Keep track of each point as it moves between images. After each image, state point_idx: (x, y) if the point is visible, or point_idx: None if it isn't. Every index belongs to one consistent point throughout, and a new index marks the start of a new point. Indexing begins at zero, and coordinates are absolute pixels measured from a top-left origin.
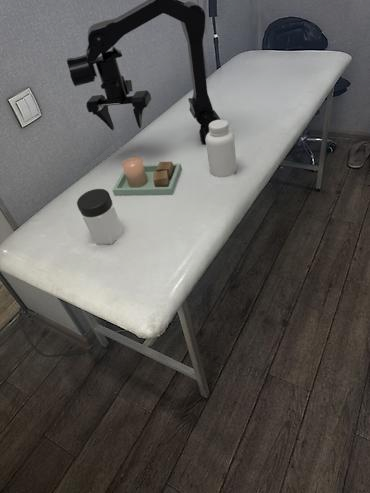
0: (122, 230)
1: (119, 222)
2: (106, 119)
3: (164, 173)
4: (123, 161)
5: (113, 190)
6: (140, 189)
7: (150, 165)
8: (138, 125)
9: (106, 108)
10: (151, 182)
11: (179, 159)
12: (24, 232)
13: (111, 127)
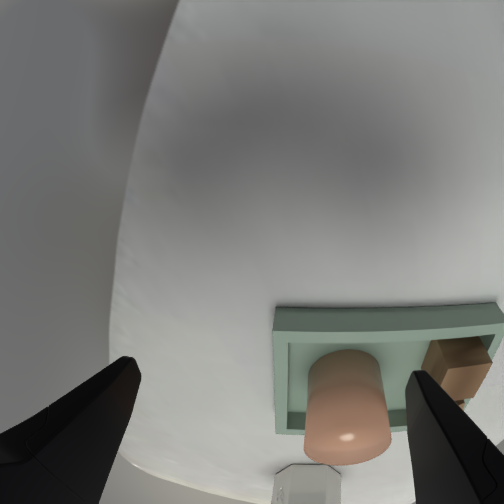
0: (340, 483)
1: (340, 500)
2: (101, 484)
3: None
4: (306, 443)
5: (278, 432)
6: None
7: (397, 337)
8: (411, 425)
9: (15, 495)
10: (394, 375)
11: (494, 225)
12: (127, 447)
13: (133, 405)
